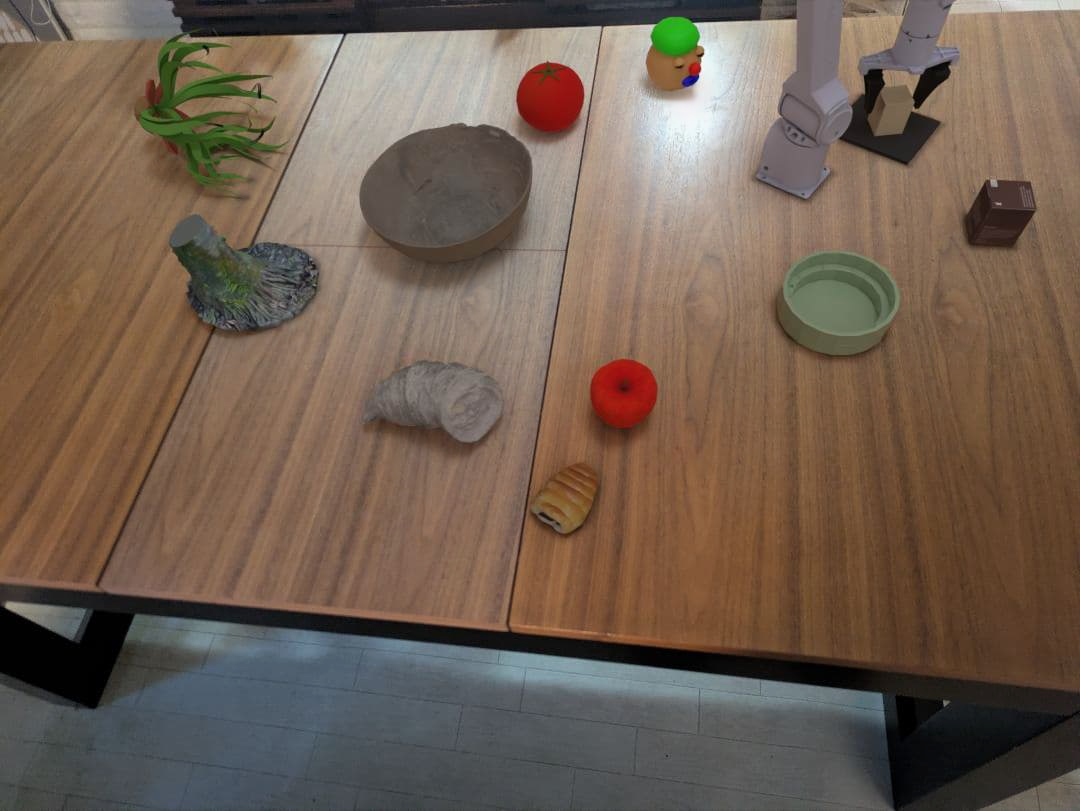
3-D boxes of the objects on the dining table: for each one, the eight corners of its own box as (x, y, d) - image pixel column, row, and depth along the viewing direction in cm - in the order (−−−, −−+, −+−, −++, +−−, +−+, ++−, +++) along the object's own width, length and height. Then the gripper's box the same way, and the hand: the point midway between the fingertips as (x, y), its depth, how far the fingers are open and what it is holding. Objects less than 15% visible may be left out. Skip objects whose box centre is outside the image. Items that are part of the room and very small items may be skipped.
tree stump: (318, 329, 110) (238, 260, 95) (212, 361, 115) (120, 301, 100) (324, 240, 118) (252, 163, 103) (226, 273, 124) (144, 205, 108)
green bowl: (756, 323, 102) (762, 301, 97) (809, 258, 107) (817, 234, 103) (855, 375, 96) (866, 354, 91) (907, 304, 101) (919, 280, 97)
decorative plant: (193, 140, 146) (326, 139, 140) (122, 205, 129) (269, 208, 123) (127, 2, 127) (277, -5, 121) (35, 58, 111) (204, 53, 105)
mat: (827, 134, 120) (828, 131, 120) (861, 96, 124) (862, 93, 124) (906, 165, 115) (908, 162, 114) (939, 124, 119) (941, 121, 118)
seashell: (362, 425, 99) (338, 387, 91) (434, 356, 104) (418, 314, 96) (443, 489, 93) (425, 454, 84) (516, 412, 98) (506, 372, 89)
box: (1013, 248, 104) (1038, 210, 98) (968, 245, 105) (990, 207, 99) (1007, 218, 107) (1031, 180, 101) (964, 215, 108) (985, 177, 102)
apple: (636, 452, 93) (637, 423, 86) (578, 424, 96) (575, 394, 89) (667, 401, 96) (670, 369, 90) (610, 376, 99) (610, 343, 93)
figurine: (634, 85, 132) (636, 23, 122) (673, 63, 135) (677, 0, 124) (676, 113, 127) (681, 50, 117) (715, 89, 129) (723, 26, 119)
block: (874, 136, 118) (885, 104, 113) (867, 119, 120) (878, 87, 115) (902, 133, 118) (914, 101, 113) (894, 116, 120) (906, 84, 115)
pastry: (568, 458, 93) (567, 445, 90) (612, 483, 91) (612, 471, 88) (527, 514, 90) (524, 503, 87) (572, 542, 87) (570, 531, 84)
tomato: (596, 111, 130) (594, 57, 121) (561, 151, 125) (556, 99, 116) (544, 95, 134) (538, 42, 125) (509, 133, 129) (500, 81, 120)
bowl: (565, 187, 120) (560, 138, 111) (492, 307, 108) (481, 262, 100) (426, 154, 128) (412, 106, 120) (345, 261, 116) (323, 216, 108)
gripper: (878, 48, 103) (852, 127, 114) (981, 37, 102) (944, 118, 113) (865, 21, 107) (841, 100, 118) (964, 10, 106) (930, 91, 117)
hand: (891, 107), depth 116 cm, fingers open, 7 cm apart
